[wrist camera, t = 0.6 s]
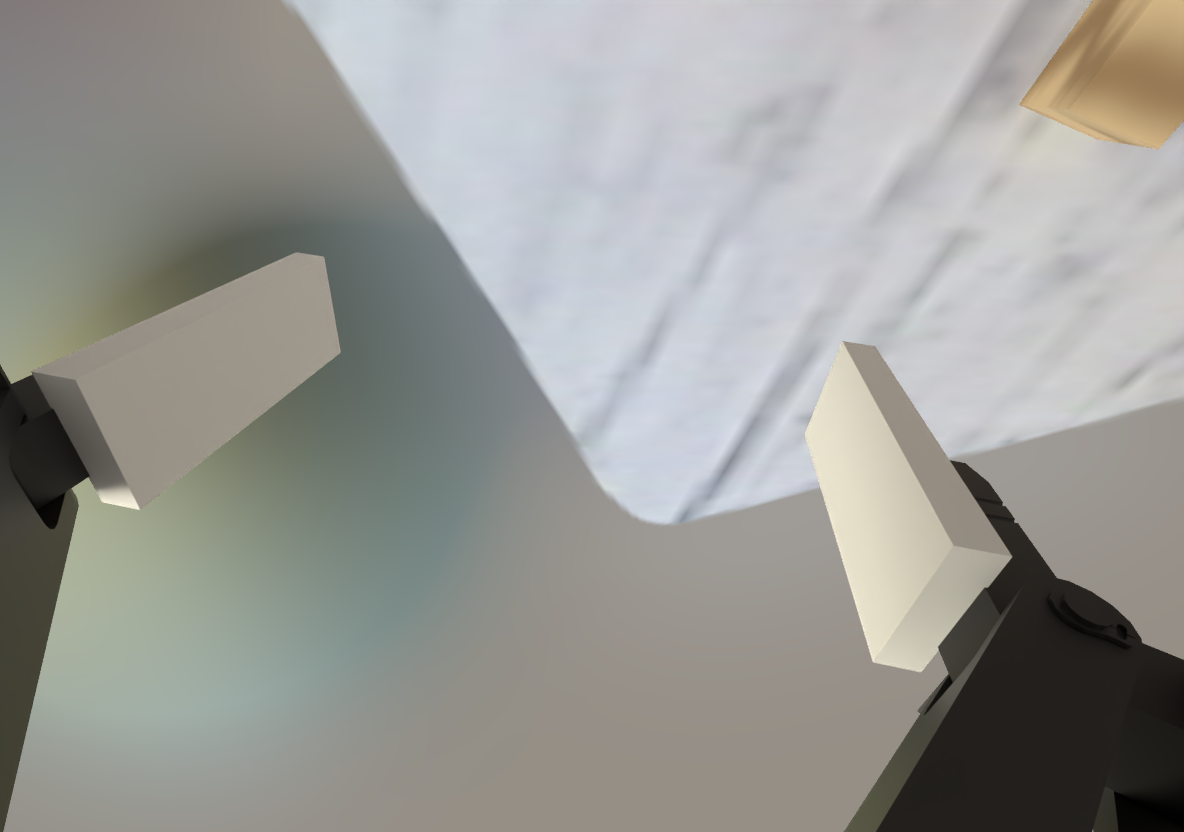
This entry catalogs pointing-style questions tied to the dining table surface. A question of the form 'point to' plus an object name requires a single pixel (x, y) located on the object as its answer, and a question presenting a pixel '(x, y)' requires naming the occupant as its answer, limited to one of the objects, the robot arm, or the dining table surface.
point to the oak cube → (1118, 73)
